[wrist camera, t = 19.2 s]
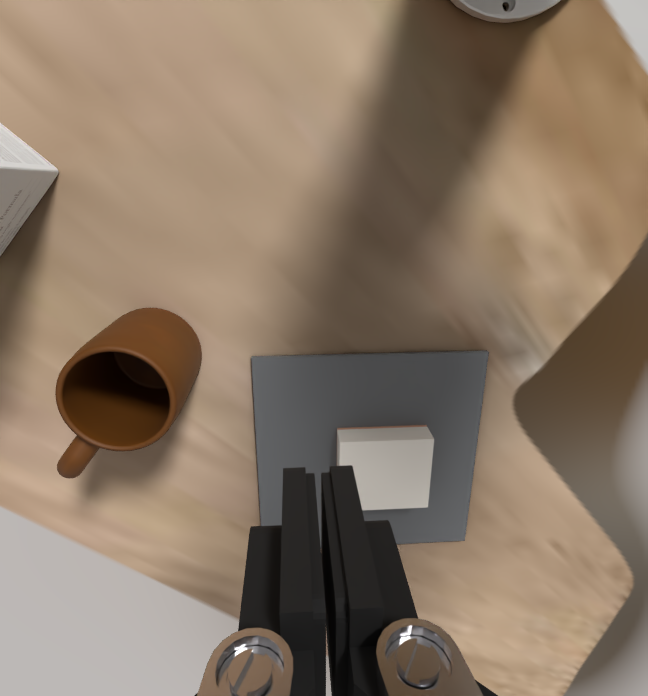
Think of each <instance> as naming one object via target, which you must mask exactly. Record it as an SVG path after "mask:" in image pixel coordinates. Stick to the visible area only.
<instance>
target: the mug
mask: <svg viewBox="0 0 648 696" xmlns="http://www.w3.org/2000/svg"><path fill="white" fill-rule="evenodd" d="M201 360H202V351H201V345H200V342H199V339H198V337H197V335H196V333H195V332H194V330H193V329H192V327H191V326H190V325H189V324H188V323H187V322H186V321H185V320H183V319H182V318H181V317H179V316H178V315H176V314H174V313H172V312H170V311H167V310H163V309H158V308H142V309H137V310H134V311H131V312H129V313H127V314H125V315H123V316H121V317H120V318H118V319H117V320H116V321H114V322H113V323H112V324H111V325H109V326H108V327H107V328H105V329H104V330H103V331H101V332H100V333H99V334H97V335H96V336H95V337H94V338H92V339H91V340H90V341H89V342H87V343H86V344H85V345H84V346H83V347H82V348H80V349H79V350H78V351H77V352H76V353H75V355H74V356H73V357H72V358H71V359H70V360H69V361H68V362H67V363H66V365H65V366H64V367H63V369H62V370H61V372H60V374H59V377H58V380H57V384H56V402H57V406H58V410H59V412H60V414H61V416H62V418H63V420H64V421H65V423H66V424H67V425H68V427H69V428H70V429H71V430H72V431H73V432H74V433H75V434H76V435H77V436H76V437H75V439H74V440H73V442H72V443H71V444H70V446H69V447H68V448H67V450H66V451H65V452H64V454H63V455H62V457H61V458H60V460H59V462H58V464H57V470H58V472H59V474H60V475H61V476H63V477H65V478H75V477H77V476H79V475H80V474H81V473H82V471H83V470H84V469H85V467H86V466H87V464H88V463H89V462H90V460H91V459H92V457H93V456H94V455H95V453H96V452H97V451H98V449H99V448H103V449H107V450H113V451H132V450H137V449H140V448H143V447H146V446H149V445H151V444H153V443H154V442H156V441H157V440H159V439H160V438H161V437H162V436H163V435H164V434H165V433H166V432H167V431H168V430H169V428H170V427H171V425H172V424H173V422H174V421H175V419H176V418H177V416H178V415H179V413H180V411H181V409H182V407H183V405H184V403H185V401H186V399H187V397H188V394H189V392H190V390H191V388H192V386H193V383H194V381H195V379H196V377H197V375H198V372H199V369H200V366H201Z"/></svg>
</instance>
